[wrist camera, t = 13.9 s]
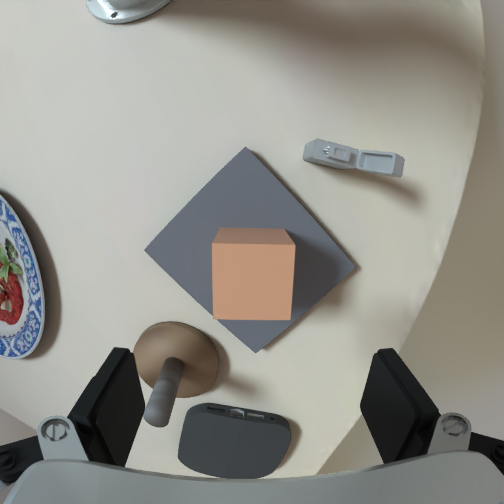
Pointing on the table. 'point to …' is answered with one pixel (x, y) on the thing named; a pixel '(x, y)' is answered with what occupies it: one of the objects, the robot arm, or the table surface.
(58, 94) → the table surface
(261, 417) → the media streaming box
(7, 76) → the table surface
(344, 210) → the table surface
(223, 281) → the peach cube block
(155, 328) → the round pedestal stand
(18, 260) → the ceramic plate
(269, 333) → the mat
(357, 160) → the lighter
